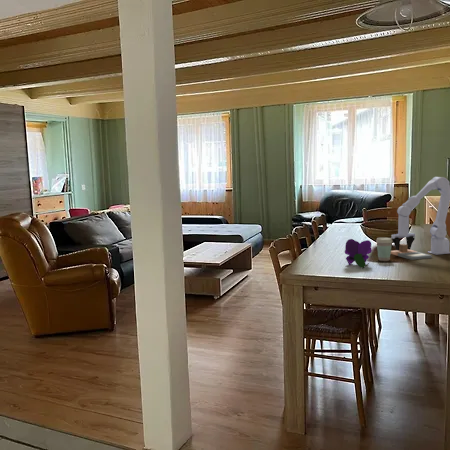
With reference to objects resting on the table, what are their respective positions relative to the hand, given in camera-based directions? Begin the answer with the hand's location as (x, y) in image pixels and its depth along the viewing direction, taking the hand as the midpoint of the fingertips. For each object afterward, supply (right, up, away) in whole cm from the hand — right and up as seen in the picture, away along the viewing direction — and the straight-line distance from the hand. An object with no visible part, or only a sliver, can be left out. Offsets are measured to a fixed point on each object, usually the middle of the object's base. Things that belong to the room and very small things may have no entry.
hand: (403, 249), depth 270 cm
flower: (-33, -8, -28) cm, 44 cm away
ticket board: (+3, -4, -10) cm, 11 cm away
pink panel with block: (0, -2, 0) cm, 2 cm away
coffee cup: (-16, -5, -14) cm, 22 cm away
